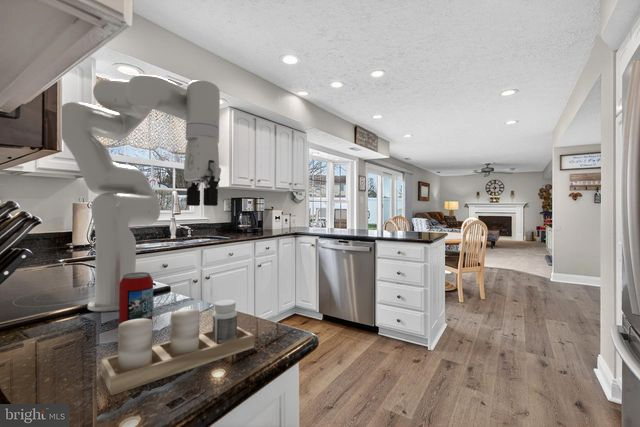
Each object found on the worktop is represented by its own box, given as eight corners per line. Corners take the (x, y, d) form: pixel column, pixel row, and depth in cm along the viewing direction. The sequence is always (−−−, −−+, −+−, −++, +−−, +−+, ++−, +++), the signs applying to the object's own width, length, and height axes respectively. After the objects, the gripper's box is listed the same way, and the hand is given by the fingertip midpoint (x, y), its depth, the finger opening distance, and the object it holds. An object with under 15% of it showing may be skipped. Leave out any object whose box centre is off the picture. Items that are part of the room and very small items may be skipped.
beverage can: (137, 332, 68) (138, 278, 68) (111, 329, 70) (112, 276, 70) (158, 322, 75) (159, 272, 75) (134, 319, 76) (135, 270, 76)
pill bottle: (241, 341, 64) (242, 300, 64) (225, 351, 59) (226, 307, 59) (223, 337, 66) (224, 297, 66) (206, 346, 61) (207, 303, 61)
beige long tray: (100, 374, 51) (101, 322, 51) (233, 335, 68) (234, 296, 68) (111, 395, 45) (112, 337, 45) (253, 347, 62) (254, 305, 62)
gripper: (173, 137, 79) (172, 205, 79) (202, 125, 67) (201, 205, 67) (202, 142, 84) (201, 206, 84) (234, 132, 72) (233, 206, 72)
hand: (201, 205), depth 76 cm, fingers open, 9 cm apart
